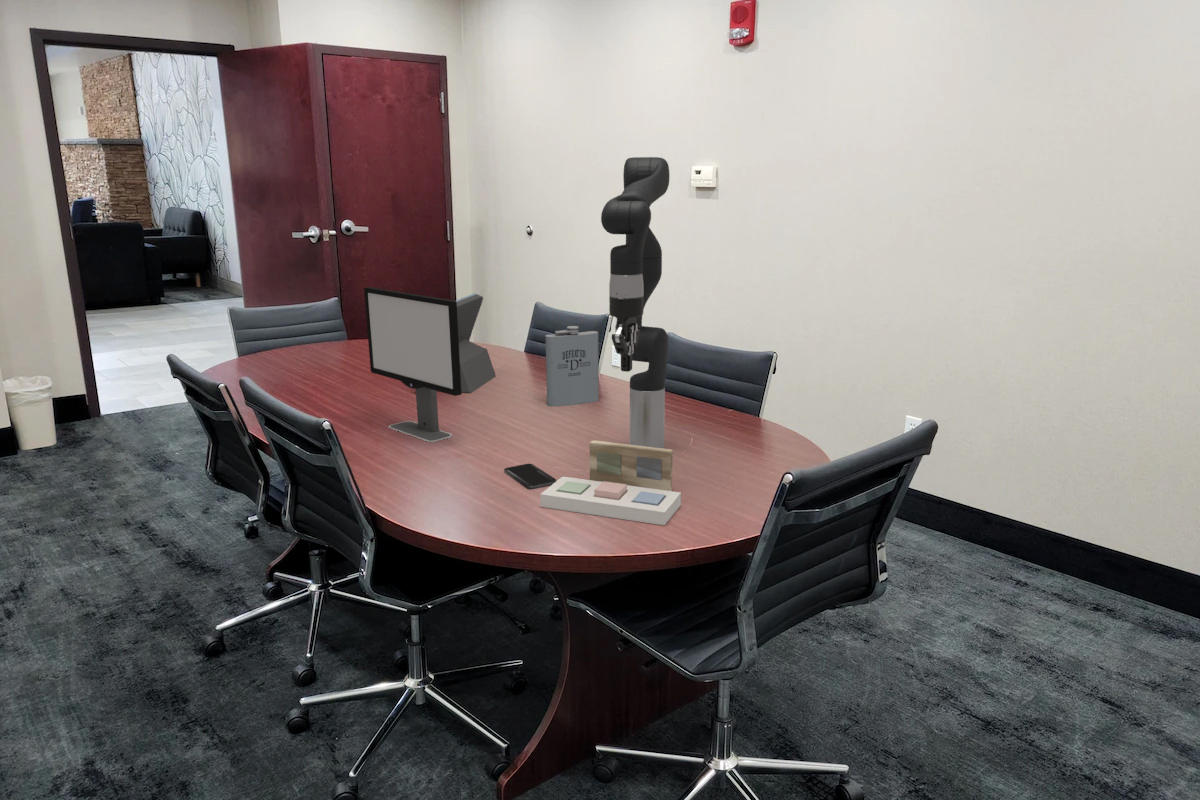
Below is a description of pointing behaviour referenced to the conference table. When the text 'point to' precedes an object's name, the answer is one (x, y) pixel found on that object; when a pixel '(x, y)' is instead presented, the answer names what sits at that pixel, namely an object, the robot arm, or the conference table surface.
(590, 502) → the keypad
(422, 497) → the conference table surface
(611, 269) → the robot arm
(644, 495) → the key slate
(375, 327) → the computer monitor
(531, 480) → the phone
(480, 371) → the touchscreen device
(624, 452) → the card
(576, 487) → the key sage
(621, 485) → the key rose
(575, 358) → the flask
